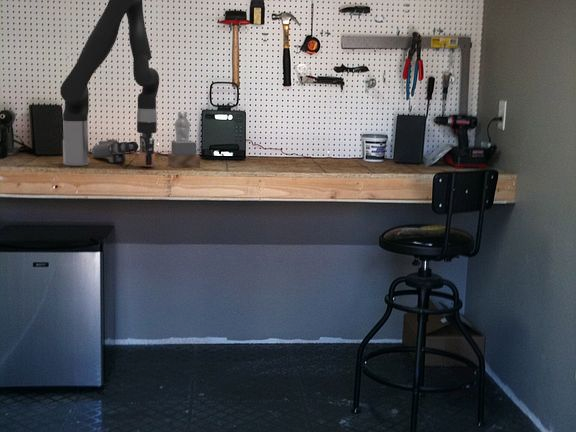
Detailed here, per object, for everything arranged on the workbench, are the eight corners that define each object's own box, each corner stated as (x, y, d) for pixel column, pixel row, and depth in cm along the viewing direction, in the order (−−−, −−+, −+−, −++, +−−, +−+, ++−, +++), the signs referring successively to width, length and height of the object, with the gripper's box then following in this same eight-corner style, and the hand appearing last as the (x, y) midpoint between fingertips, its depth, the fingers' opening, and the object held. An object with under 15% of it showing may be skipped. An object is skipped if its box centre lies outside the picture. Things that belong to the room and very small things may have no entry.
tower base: (175, 168, 297) (175, 156, 296) (168, 165, 306) (168, 153, 305) (199, 168, 301) (199, 155, 300) (192, 165, 310) (192, 152, 309)
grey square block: (176, 155, 297) (176, 142, 296) (171, 153, 304) (171, 141, 304) (196, 155, 300) (196, 142, 299) (190, 153, 307) (191, 140, 307)
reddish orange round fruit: (140, 166, 293) (140, 153, 292) (137, 164, 298) (137, 151, 297) (156, 166, 295) (156, 153, 294) (152, 164, 301) (152, 151, 300)
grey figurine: (182, 160, 322) (182, 112, 318) (171, 158, 326) (171, 111, 322) (193, 159, 327) (193, 112, 323) (182, 157, 331) (182, 111, 327)
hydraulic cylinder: (125, 161, 294) (123, 135, 293) (87, 166, 323) (85, 142, 322) (142, 160, 298) (140, 135, 297) (103, 165, 327) (101, 142, 327)
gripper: (132, 119, 298) (133, 161, 302) (141, 121, 286) (141, 166, 289) (151, 119, 301) (151, 161, 305) (161, 121, 289) (160, 165, 292)
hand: (146, 163), depth 297 cm, fingers closed on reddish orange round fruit, 6 cm apart
